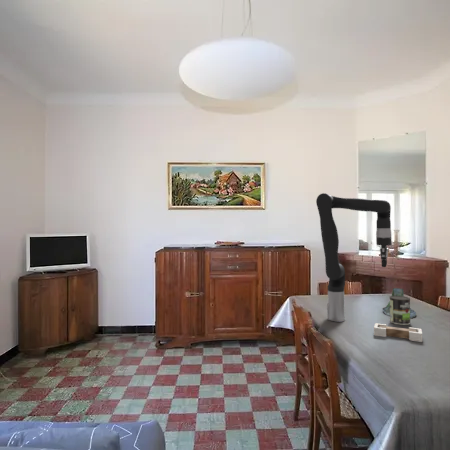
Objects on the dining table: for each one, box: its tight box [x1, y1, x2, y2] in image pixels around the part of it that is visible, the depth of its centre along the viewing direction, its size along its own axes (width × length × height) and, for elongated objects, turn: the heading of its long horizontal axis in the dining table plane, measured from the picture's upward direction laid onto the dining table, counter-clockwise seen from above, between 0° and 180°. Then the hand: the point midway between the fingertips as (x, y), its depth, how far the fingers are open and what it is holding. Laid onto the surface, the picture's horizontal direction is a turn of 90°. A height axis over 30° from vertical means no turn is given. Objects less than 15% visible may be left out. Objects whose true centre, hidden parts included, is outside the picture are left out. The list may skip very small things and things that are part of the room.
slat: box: [380, 326, 416, 340], centre depth 159 cm, size 16×4×4 cm, turn 61°
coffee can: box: [389, 295, 411, 326], centre depth 180 cm, size 10×10×14 cm
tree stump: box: [381, 288, 417, 319], centre depth 198 cm, size 18×20×18 cm
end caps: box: [373, 322, 423, 343], centre depth 159 cm, size 21×8×4 cm, turn 61°
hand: (384, 265), depth 175 cm, fingers open, 8 cm apart
